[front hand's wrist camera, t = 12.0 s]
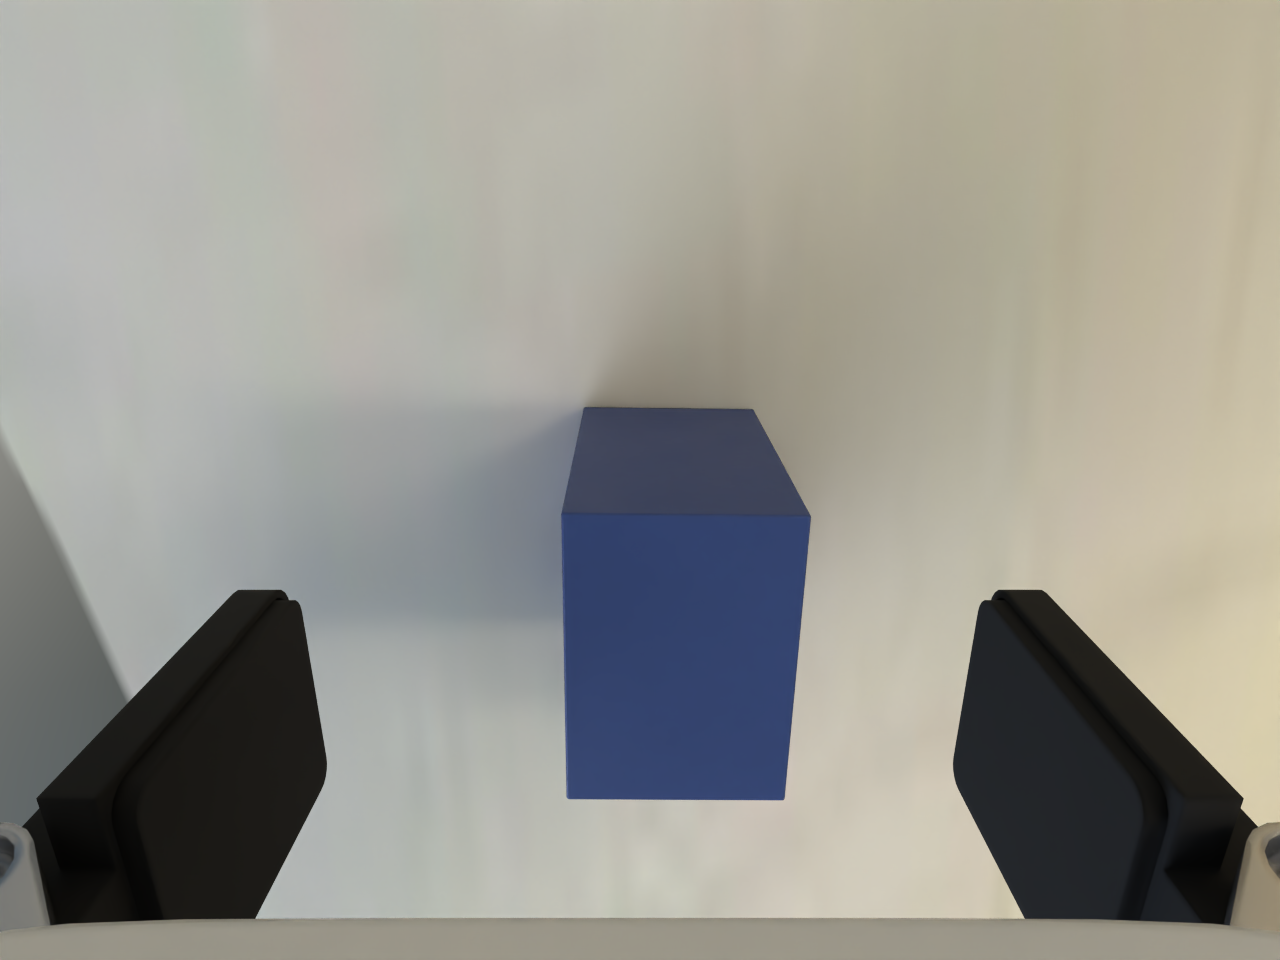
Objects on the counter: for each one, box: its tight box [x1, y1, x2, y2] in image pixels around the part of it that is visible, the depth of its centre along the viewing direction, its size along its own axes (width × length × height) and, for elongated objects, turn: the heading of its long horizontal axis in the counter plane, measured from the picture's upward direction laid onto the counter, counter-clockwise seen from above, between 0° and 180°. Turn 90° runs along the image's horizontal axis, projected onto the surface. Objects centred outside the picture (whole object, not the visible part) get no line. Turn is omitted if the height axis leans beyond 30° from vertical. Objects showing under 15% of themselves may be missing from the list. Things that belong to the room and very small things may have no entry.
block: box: [561, 407, 811, 800], centre depth 26 cm, size 6×9×10 cm
